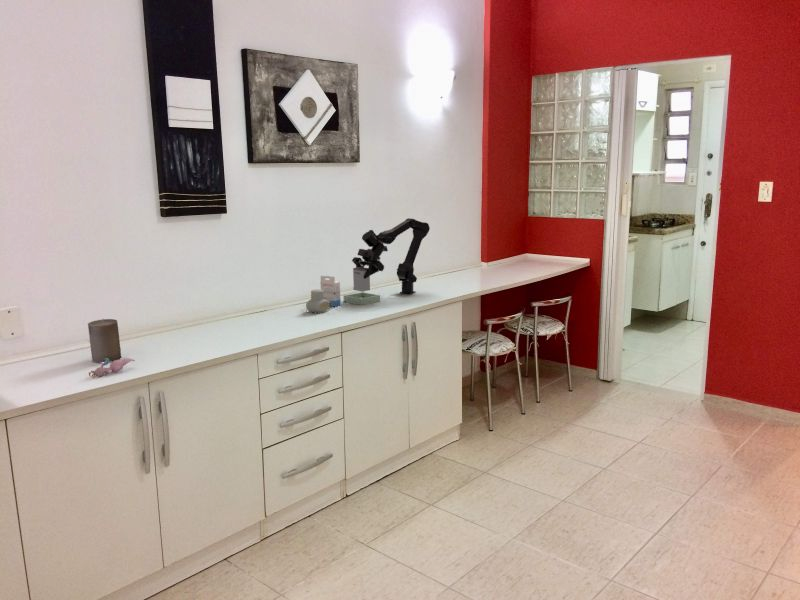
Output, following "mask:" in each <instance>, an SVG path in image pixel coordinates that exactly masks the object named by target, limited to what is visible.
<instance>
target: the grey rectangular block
mask: <svg viewBox="0 0 800 600" xmlns="http://www.w3.org/2000/svg"><path fill="white" fill-rule="evenodd" d="M368 268H369V267H365V266H364V267H357V268H356V267H353V268H352V272H353V275H352V276H353V278H352V279H353V290H354V291H357V292H368V291H371V281H370V280H371V275H370V276H369V277H367V278H365V279H364V275H365V273H366V271H367V270H368Z"/></svg>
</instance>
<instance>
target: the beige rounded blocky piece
mask: <svg viewBox="0 0 800 600" xmlns="http://www.w3.org/2000/svg"><path fill="white" fill-rule="evenodd" d="M305 308H306V310H307V311H309V312H311V313H315V312H322V313H324V312H326V311H327V310H328V309H329V308H330V306H329V302H328V301H327V300H325V299H324V291H323V290H321V289H312V290H310V299H309V300H308V301H307V302H306V303H305Z"/></svg>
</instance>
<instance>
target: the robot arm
mask: <svg viewBox="0 0 800 600" xmlns="http://www.w3.org/2000/svg"><path fill="white" fill-rule="evenodd" d="M430 228H431V227H430V225H429V223H428V222H422V221H419V220H417V219H416V218H415V219H414V218H410V217H409V218H406V219H405V220H404V221H402V222H400V223H399V224H397V225H395V226H394V227H392V228H390V229H388V230H384V231H383V230H382V231H381V232H379V233H378V234H376V233H375V231H374V230H373V229H369V230H368V231H366V232H365V233H363V235H362V237H361V239H362V241H363V242H364V243H365V244H366V246H368V247H369V248H367V249H364V248H358V252H357V256H359V257H357V256H355V257H353V258H352V259H351V262H352V263H353V264H354V265H355V268H357V267H364V268H365V267H366V266H367V268H368V270H367V271H366V273H365V275H364V279H365V278H367V277H369V276H370V277H371V276H372V275H374V274H375V273H379V272H383V271H384V269H385V265H384V264H383V263H382V262H381V255H382V254H383V253H384V252H388V251H389V250H388V247H387V245H391V244H392V243H393V242H394V241H396V238H397V237H398V236H399V235H401V234H403V233H404V232H407V230H409V229H412V235H413V236H412V240H411V242H410V245H409V247H408V250H407V253H406V256H405V258H404V261H403V262H402V263H399V264H398V266H397V269H396V276H397V278H398V281H400V282H401V291H400V292H399V293H400V294H406V295H411V294H415V293H417V291H416V290H415V291H414V283H417V279H418V278H417V276H416V275H415V274H414V271H415V268H414V263H415V260H416V257H417V254H418V253H419V249H420V247H421V243H422V241H423V239H424V238H425V237H426V236H427V235H428V234H429V232H430Z"/></svg>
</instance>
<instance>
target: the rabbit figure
mask: <svg viewBox="0 0 800 600" xmlns="http://www.w3.org/2000/svg"><path fill="white" fill-rule="evenodd" d="M104 360H106V361H105V362H104V363H101V366H99V367H97V368H96V369H95V370H91V371H89V372H88V377H92V379H94V376H95V375H96V376H95V377H97V376H101V377H102V376H103V375H105V374H108V373H110V372H112V373H114V372H116V373H117V372H119V371H121V370H123V368H124V366H126V365H128V363H130V362H135V361H136V359H133V358H130V357H126V358H121V359H119V360H115V361H113V362H109V359H108V358H105V359H104ZM109 364H110V365H109ZM107 365H109V367H104V366H107Z"/></svg>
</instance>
